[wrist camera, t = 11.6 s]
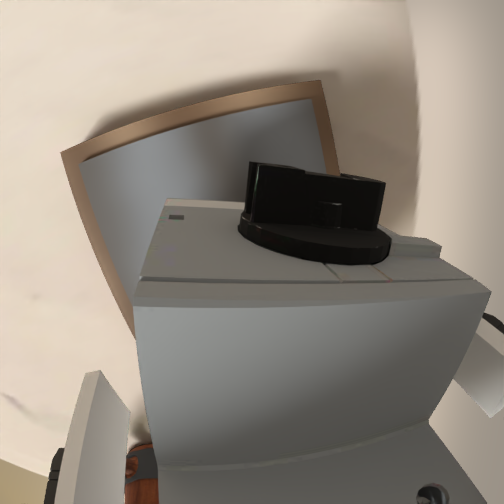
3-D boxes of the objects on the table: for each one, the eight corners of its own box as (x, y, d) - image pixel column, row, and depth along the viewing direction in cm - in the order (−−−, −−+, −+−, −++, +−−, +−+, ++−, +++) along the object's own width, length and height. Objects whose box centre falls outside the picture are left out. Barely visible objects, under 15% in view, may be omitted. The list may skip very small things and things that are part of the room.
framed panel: (182, 397, 23) (184, 424, 20) (76, 150, 15) (56, 152, 12) (344, 347, 24) (360, 369, 21) (304, 86, 16) (324, 78, 14)
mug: (127, 413, 23) (119, 530, 12) (219, 460, 27) (237, 552, 17) (82, 442, 23) (69, 536, 13) (168, 483, 28) (175, 564, 17)
